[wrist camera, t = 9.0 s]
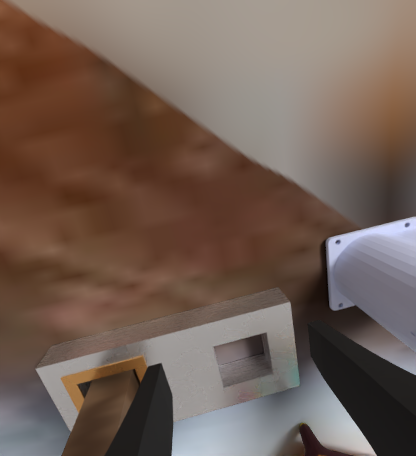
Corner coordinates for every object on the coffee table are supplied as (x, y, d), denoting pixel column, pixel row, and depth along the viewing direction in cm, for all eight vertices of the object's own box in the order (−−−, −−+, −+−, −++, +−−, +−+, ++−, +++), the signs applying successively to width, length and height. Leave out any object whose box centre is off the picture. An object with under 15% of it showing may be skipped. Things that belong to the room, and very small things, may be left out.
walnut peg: (135, 353, 22) (112, 452, 15) (146, 380, 23) (129, 486, 16) (99, 363, 22) (56, 468, 14) (111, 390, 23) (77, 501, 15)
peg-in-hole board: (278, 287, 22) (290, 302, 20) (288, 364, 25) (300, 386, 22) (52, 345, 21) (34, 369, 18) (90, 420, 24) (79, 450, 21)
